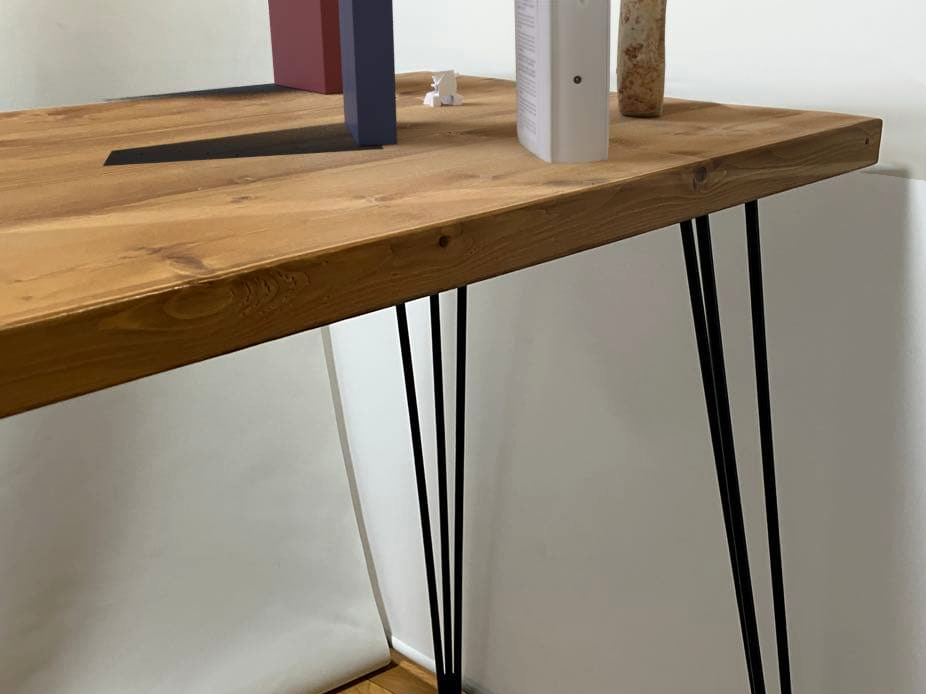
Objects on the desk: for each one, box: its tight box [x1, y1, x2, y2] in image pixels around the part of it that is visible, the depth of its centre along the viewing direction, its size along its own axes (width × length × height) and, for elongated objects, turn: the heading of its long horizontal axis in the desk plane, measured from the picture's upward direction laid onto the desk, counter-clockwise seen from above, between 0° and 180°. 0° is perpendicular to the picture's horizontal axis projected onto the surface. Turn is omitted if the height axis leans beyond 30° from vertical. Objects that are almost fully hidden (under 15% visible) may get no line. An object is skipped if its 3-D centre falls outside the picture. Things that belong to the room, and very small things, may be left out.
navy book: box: [338, 0, 398, 147], centre depth 74 cm, size 14×10×2 cm
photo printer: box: [513, 0, 612, 164], centre depth 67 cm, size 10×4×12 cm, turn 13°
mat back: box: [103, 82, 331, 107], centre depth 96 cm, size 17×13×1 cm
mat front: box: [103, 122, 385, 167], centre depth 74 cm, size 17×13×1 cm
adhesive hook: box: [422, 69, 464, 108], centre depth 89 cm, size 3×3×3 cm
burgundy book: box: [267, 0, 343, 95], centre depth 98 cm, size 14×10×2 cm
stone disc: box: [615, 0, 668, 118], centre depth 82 cm, size 10×4×10 cm, turn 171°
